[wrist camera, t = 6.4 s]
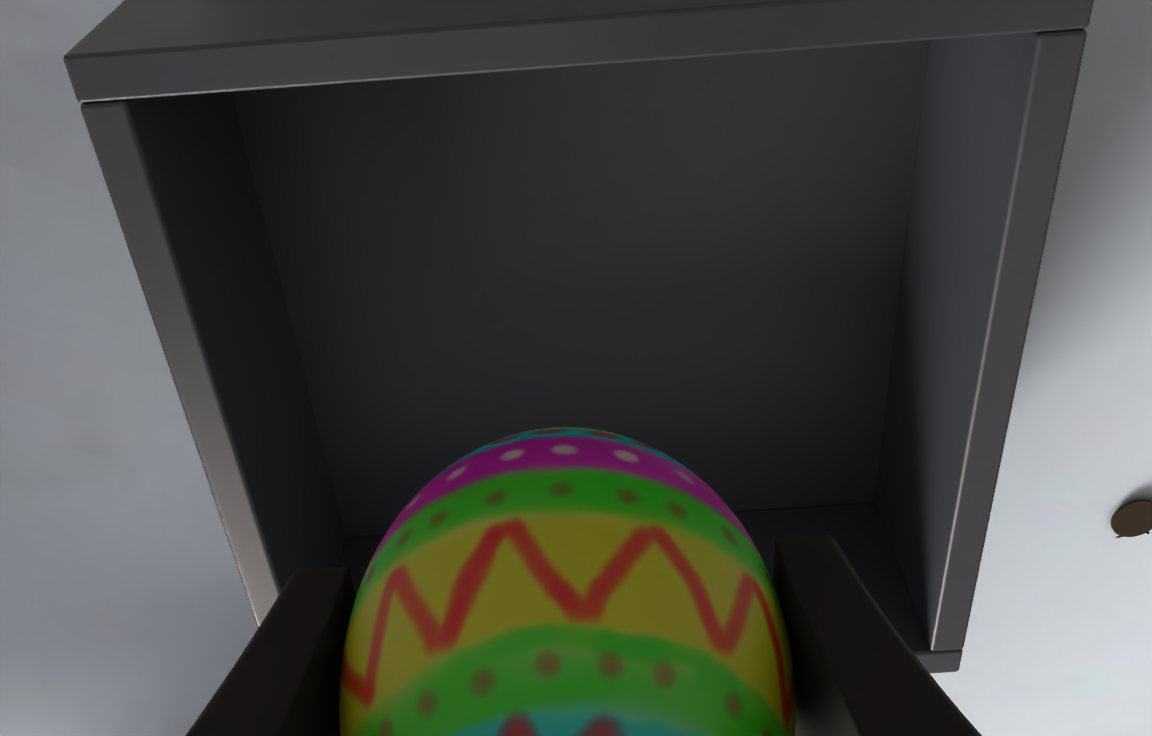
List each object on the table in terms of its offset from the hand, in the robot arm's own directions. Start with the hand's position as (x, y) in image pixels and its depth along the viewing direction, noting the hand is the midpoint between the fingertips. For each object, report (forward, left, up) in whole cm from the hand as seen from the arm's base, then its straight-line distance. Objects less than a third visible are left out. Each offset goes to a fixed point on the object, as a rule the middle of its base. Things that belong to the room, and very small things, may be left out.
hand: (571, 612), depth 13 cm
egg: (0, 0, -2) cm, 2 cm away
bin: (0, 0, -8) cm, 8 cm away
